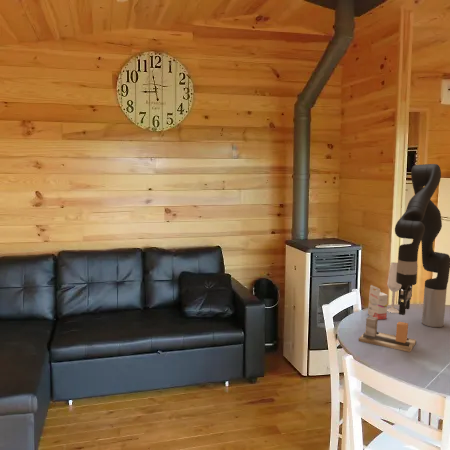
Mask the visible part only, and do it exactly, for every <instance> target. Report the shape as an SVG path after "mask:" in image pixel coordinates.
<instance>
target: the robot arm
mask: <svg viewBox="0 0 450 450" xmlns="http://www.w3.org/2000/svg"><path fill="white" fill-rule="evenodd" d="M410 178H411V184H412V188H413V193H414V195H413V196H412V197H411V198H410V199H409V202H408V204H407V206H406V210H405V212H404V213H403V214H402V216H401V217H399V219H398V220H397V222H396V224H395V226H394V234H395V236H396V237H398V238H400V239H409V240H410V239H411V240H412V242H411V243H406V244H405V243H404V244H401V245H399V247H398V255H397V262H396V263H397V274H396V282H397V283H398V284H401V285H402V286H401V288H400V289H399V290H398V299H397V305H398V311H399V313H398V314H399V315H402V316H405V315H406V310H409V309H410V306H411V305H410V304H411V300H412V297H413V295H412V294H413V286H415V285H417V281H418V280H417V279H418V269H419V268H418V267H419V266H418V257H419V247H420V244H421V261H422V262H421V263H422V267H423V269H424V270H425V271H427V272H429V273H430V272H431V273H435V274H436V277H435V278H429V279H425V281H424V289H423V303H422V315H421V324H423V325H425V326H427V327H431V328H432V327H433V328H442V327H444V326H445V325H444V323H445V316H446V315H445V313H446V301H447V289H448V288H447V287H448V282H449V278H450V255H449V254H448V253H444V252H439V251H434V241H435V239H436V238H437V237H438V235H439V233H440V232H441V230H442V227H443V223H442V214H441V211H440V209H439V207H437V205H436V204H435V203H434V201H432V199H431V198H432V197H433V196H434V193H435V192H436V191H437V188H438V187H439V185H440V182H441V179H442V171H441V166H440V165H439V164H438V163H437V164H436V163H426V164H416V165H413V166H412V168H411V171H410Z"/></svg>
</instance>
